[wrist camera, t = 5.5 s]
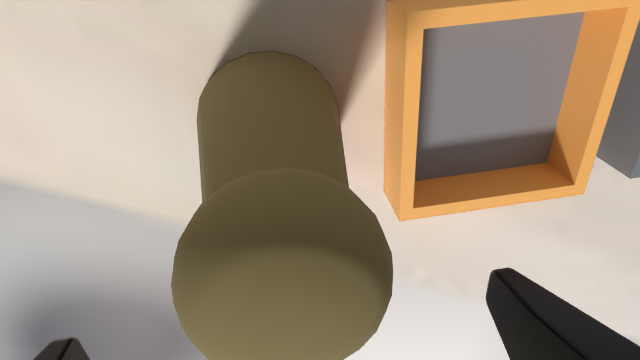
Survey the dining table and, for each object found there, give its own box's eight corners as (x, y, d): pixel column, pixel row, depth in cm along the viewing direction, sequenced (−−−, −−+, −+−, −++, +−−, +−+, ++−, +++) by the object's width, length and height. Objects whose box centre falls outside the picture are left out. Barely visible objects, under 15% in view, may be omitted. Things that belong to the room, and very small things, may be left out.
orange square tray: (599, -21, 17) (649, -14, 15) (550, 167, 21) (583, 194, 19) (386, 0, 16) (407, 12, 14) (384, 191, 21) (399, 221, 19)
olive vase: (221, 26, 16) (180, 172, 6) (362, 82, 18) (487, 258, 8) (180, 159, 18) (108, 402, 9) (306, 196, 20) (355, 427, 11)
